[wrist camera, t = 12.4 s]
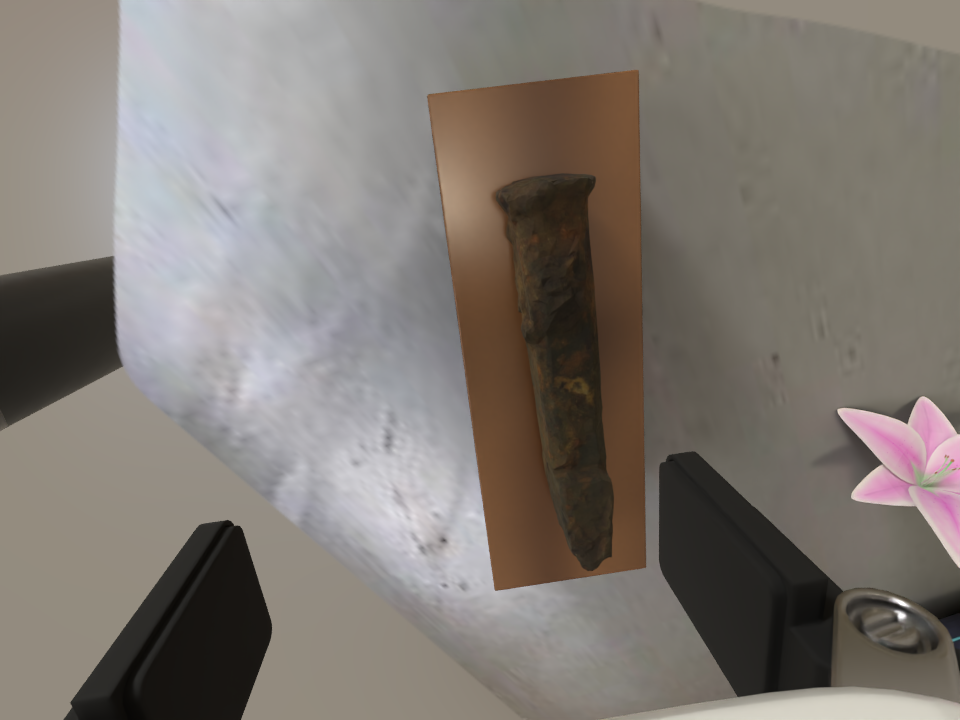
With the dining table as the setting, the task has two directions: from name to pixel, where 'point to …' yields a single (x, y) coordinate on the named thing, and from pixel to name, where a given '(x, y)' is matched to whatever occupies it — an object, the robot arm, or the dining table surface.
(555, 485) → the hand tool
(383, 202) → the dining table surface
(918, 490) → the lily
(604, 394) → the shelf stand
